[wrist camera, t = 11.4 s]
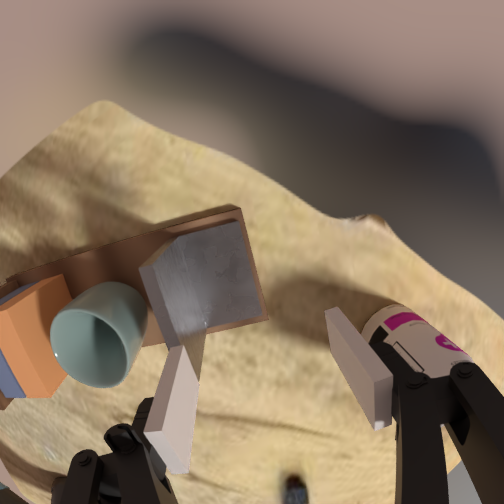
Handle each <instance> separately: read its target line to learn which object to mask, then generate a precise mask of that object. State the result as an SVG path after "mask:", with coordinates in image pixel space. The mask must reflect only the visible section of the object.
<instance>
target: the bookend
mask: <svg viewBox="0 0 504 504" xmlns="http://www.w3.org/2000/svg"><path fill="white" fill-rule="evenodd" d="M138 269H139V272H140V275H141V278H142V281H143V284H144V287H145V289H146V292H147V295H148V298H149V301H150V304H151V306H152V309H153V312H154V315H155V317H156V320H157V323H158V325H159V328H160V330H161V333H162V335H163V338H164V341H165V343H166V346H167V348H168V350H169V351H170V348H171V347H176V346H181V345H184V347H185V350H186V352H187V355H188V357H189V360H190V362H191V365H192V367H193V370H194V372H195V375H196V377H197V379H198V382H199V379H200V372H201V365H202V358H203V351H204V344H205V338H206V331H207V328H211V327H215V326H219V325H224V324H228V323H232V322H237V321H241V320H245V319H249V318H253V317H257V316H261V315H263V314H262V310H261V306H260V302H259V298H258V294H257V291H256V287H255V283H254V279H253V275H252V271H251V267H250V263H249V259H248V255H247V251H246V247H245V244H244V240H243V236H242V232H241V228H240V224H239V220H238V221H234V222H230V223H226V224H222V225H218V226H214V227H210V228H207V229H203V230H199V231H195V232H191V233H188V234H184V235H180V236H177V237H173V238H170V239H169V240H167V241H166V242H165V243H164V244H163V245H162V246H161V247H160V248H159V249H158V250H157V251H156V252H155V253H154V254H153V255H151V256H150V257H149V258H148V259H147V260H146V261H145V262H144V263H143V264H142V265H141V266H140V267H139V268H138Z"/></svg>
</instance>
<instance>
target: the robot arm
mask: <svg viewBox="0 0 504 504" xmlns="http://www.w3.org/2000/svg"><path fill="white" fill-rule="evenodd" d="M324 312H325V318H326V324H327V330H328V337H329V343H330V350H331V354H332V356H333V357H334V359H335V361H336V363H337V364H338V366H339V368H340V370H341V371H342V373H343V375H344V377H345V379H346V380H347V382H348V384H349V386H350V388H351V389H352V391H353V393H354V395H355V397H356V398H357V400H358V402H359V404H360V406H361V407H362V409H363V411H364V413H365V415H366V417H367V418H368V420H369V422H370V424H371V426H372V427H373V429H374V431H376V430H379V429H382V428H384V427H387V426H389V425H392V416H393V418H394V419H395V421H396V422H397V424H396V436H395V440H396V491H395V504H449V497H448V496H449V495H448V482H447V471H446V462H445V453H444V446H443V439H442V432H441V426H440V425H441V424H444V426H445V427H446V429H447V431H448V433H449V435H450V437H451V439H452V441H453V443H454V445H455V447H456V449H457V451H458V453H459V455H460V457H461V459H462V461H463V463H464V465H465V467H466V469H467V471H468V473H469V475H470V478H471V480H472V482H473V484H474V486H475V489H476V491H477V493H478V496H479V498H480V500H481V502H482V504H504V397H503V395H502V394H501V393H500V392H499V390H498V389H497V388H496V387H495V385H494V384H493V383H492V382H491V381H490V379H489V378H488V377H487V376H486V375H485V373H484V372H483V371H482V370H481V369H480V367H479V366H478V365H476V364H475V363H472V362H460V363H457V364H455V365H454V366H453V367H452V368H451V369H450V375H447V376H442V377H437V378H430V376H428V375H427V374H425V373H422V372H415V371H414V370H413V368H412V367H411V366H410V365H409V364H408V363H407V362H406V361H405V360H404V359H403V357H402V356H400V354H399V353H398V352H396V350H395V349H394V348H393V347H392V345H390V344H388V343H386V342H383V341H381V342H378V343H375V344H372V345H369V344H368V343H367V342H366V341H365V339H364V338H363V337H362V336H361V334H360V333H359V332H358V331H357V329H356V328H355V327H354V326H353V325H352V323H351V322H350V321H349V320H348V318H347V317H346V316H345V315H344V314H343V312H342V311H341V310H340V309H339V307H335V308H331V309H328V310H324ZM199 385H200V384H199V382H198V379H197V377H196V375H195V372H194V370H193V367H192V365H191V362H190V360H189V357H188V355H187V352H186V350H185V347H184V345H181V346H176V347H171V348H170V351H169V354H168V356H167V359H166V362H165V365H164V369H163V372H162V375H161V378H160V381H159V384H158V387H157V390H156V393H155V396H154V397H151V398H145V399H144V400H143V401H142V402H141V403H140V405H139V406H138V409H137V412H136V413H137V414H136V415H135V417H134V420H133V423H132V426H131V425H129V424H124V423H122V424H117V425H115V426H113V427H111V428H110V429H108V430H107V432H106V433H105V434H104V440H105V442H106V443H107V444H108V446H109V447H110V448H111V450H112V451H113V453H109V454H106V455H102V456H98V455H97V453H96V452H95V451H93V450H89V449H86V450H82V451H80V452H78V453H77V454H76V455H75V456H74V457H73V459H72V461H71V464H70V468H69V471H68V475H67V477H58V478H56V479H55V481H54V483H53V485H52V488H51V492H52V498H51V504H178V502H177V499H176V497H175V494H174V492H173V489H172V487H171V484H170V481H169V479H168V478H167V477H166V475H165V472H166V467H167V468H168V470H169V471H170V472H171V474H184V473H189V467H190V458H191V449H192V440H193V432H194V424H195V416H196V408H197V400H198V393H199ZM0 504H29V503H28V502H26V501H25V500H23V499H22V498H21V497H19V496H18V495H17V494H15V493H14V492H13V491H11V490H10V488H9V487H8V486H5V485H3V484H2V483H1V482H0Z"/></svg>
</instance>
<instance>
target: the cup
mask: <svg viewBox="0 0 504 504" xmlns="http://www.w3.org/2000/svg"><path fill="white" fill-rule="evenodd" d="M147 328H148V309H147V305H146V302H145V300H144V298H143V296H142V295H141V294H140V293H139V292H138V291H137V290H136V289H135V288H133V287H132V286H130V285H128V284H125V283H122V282H117V281H106V282H102V283H98V284H95V285H93V286H91V287H90V288H88V289H86V290H85V291H83V292H82V293H80V294H79V295H77V296H76V297H75V298H74V299H72V300H71V301H70V302H69V303H67V304H66V305H65V306H64V307H63V308H62V309H61V310H60V311H59V312H58V313H57V314H56V316H55V317H54V319H53V321H52V323H51V328H50V342H51V347H52V351H53V354H54V356H55V358H56V360H57V362H58V363H59V365H60V366H61V367H62V369H63V370H64V371H65V372H66V373H67V374H69V375H70V376H71V377H73V378H74V379H76V380H77V381H79V382H81V383H83V384H86V385H89V386H92V387H96V388H111V387H114V386H117V385H119V384H120V383H121V382H123V381H124V379H125V378H126V377H127V375H128V374H129V372H130V370H131V368H132V366H133V364H134V362H135V360H136V358H137V356H138V354H139V352H140V349H141V347H142V344H143V342H144V339H145V336H146V333H147Z"/></svg>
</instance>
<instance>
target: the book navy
mask: <svg viewBox="0 0 504 504" xmlns="http://www.w3.org/2000/svg"><path fill="white" fill-rule="evenodd" d="M38 282H39V281H37V282H34V283H31V284H28V285H24V286H21V287H19V288H18V289H16V290H14V291H13V292H11V293H9V294H8V295H6V296H4V297H3V298H1V299H0V306H1V305H2V304H4V303H5V302H7V301H8V300H10V299H12V298H13V297H15V296H16V295H18V294H20V293H21V292H23V291H24V290H26V289H28V288H29V287H31V286H33V285H34V284H36V283H38ZM0 389H1V391H2V392H3V394H4V396H5V397H6V398H26V394H25V393H24V391H23V389H22V388H21V386H20V384H19V383H18V381H17V379H16V377H15V375H14V374H13V372H12V370H11V368H10V366H9V364H8V362H7V360H6V359H5V357H4V355H3V353H2V351H1V348H0Z"/></svg>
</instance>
